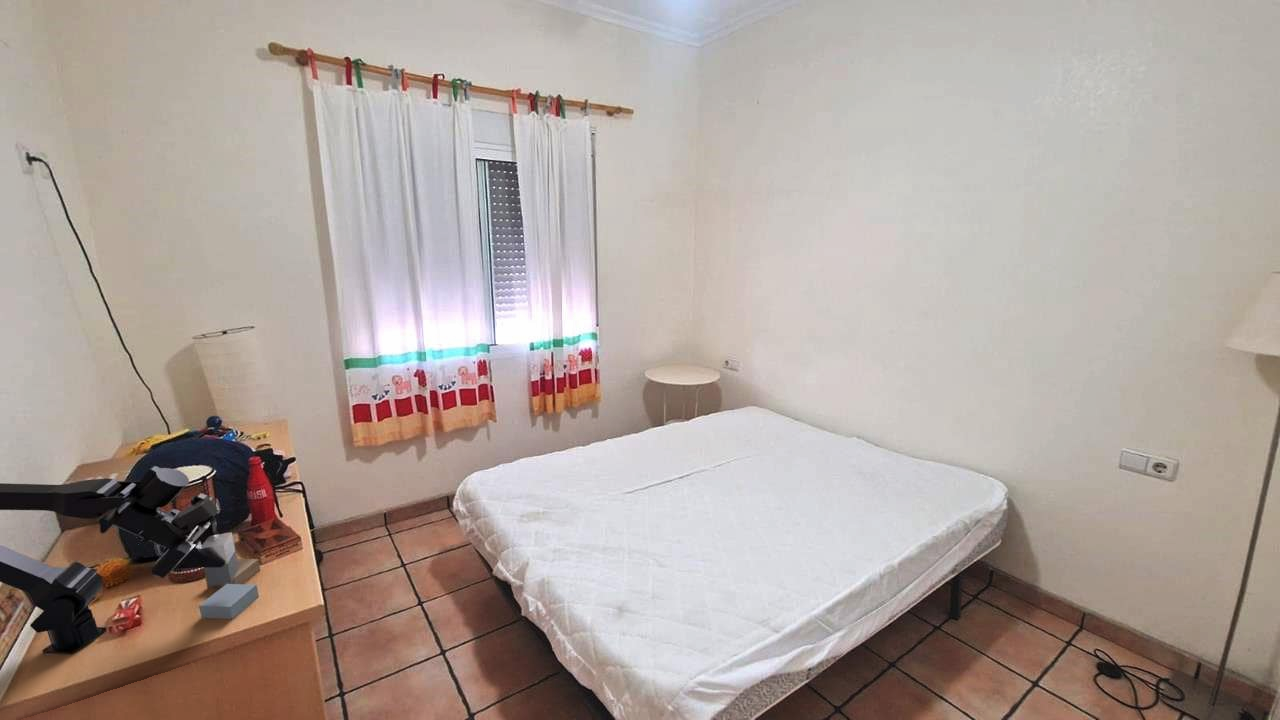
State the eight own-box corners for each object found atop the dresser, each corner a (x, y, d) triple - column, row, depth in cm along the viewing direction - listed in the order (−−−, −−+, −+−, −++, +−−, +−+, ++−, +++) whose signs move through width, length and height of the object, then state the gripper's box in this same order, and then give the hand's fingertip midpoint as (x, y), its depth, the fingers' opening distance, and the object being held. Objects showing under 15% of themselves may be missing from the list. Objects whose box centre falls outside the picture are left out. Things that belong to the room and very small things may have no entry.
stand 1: (207, 588, 117) (205, 577, 116) (233, 569, 123) (230, 558, 123) (236, 589, 116) (234, 578, 116) (260, 570, 123) (258, 559, 122)
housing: (208, 586, 106) (199, 548, 104) (216, 572, 110) (208, 536, 108) (231, 581, 108) (223, 544, 105) (239, 568, 112) (231, 532, 110)
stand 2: (201, 617, 108) (198, 605, 107) (229, 595, 114) (226, 583, 114) (232, 618, 107) (230, 606, 106) (258, 596, 114) (256, 584, 113)
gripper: (159, 514, 94) (241, 552, 101) (198, 472, 111) (267, 508, 118) (113, 561, 93) (200, 596, 100) (160, 512, 110) (232, 545, 117)
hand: (228, 557), depth 108 cm, fingers closed on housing, 5 cm apart
